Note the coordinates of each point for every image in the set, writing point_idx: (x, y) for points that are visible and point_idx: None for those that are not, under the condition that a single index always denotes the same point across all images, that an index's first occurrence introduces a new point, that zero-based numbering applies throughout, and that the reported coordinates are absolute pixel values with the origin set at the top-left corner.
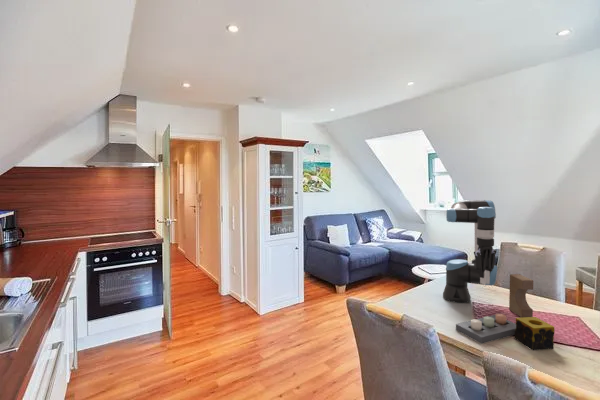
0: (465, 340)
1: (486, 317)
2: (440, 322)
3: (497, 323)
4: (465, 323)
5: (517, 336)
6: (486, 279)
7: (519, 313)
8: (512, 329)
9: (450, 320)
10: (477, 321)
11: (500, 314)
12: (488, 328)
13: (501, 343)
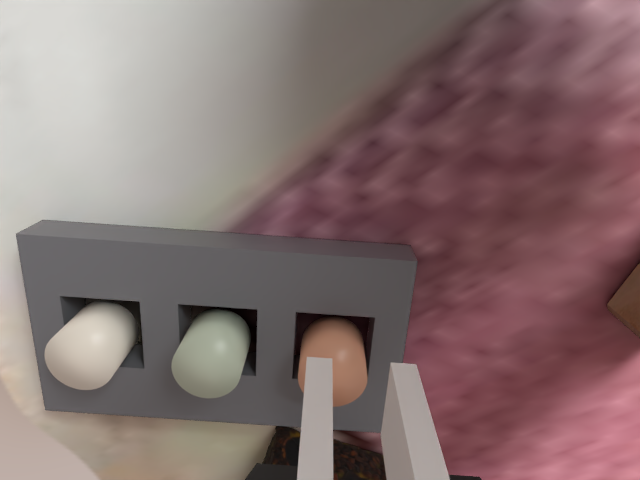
0: (8, 328)
1: (203, 354)
2: (11, 86)
3: (301, 344)
4: (87, 259)
5: (270, 456)
6: (392, 458)
7: (634, 293)
8: None
9: (110, 96)
10: (87, 364)
11: (348, 366)
12: None
13: (171, 421)
